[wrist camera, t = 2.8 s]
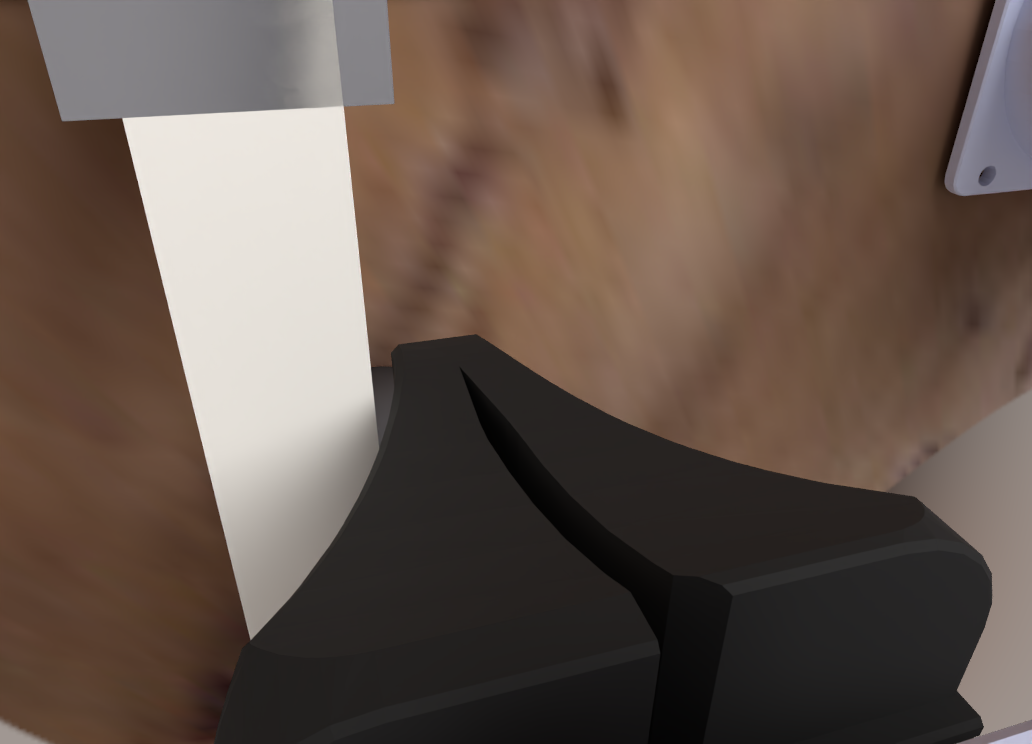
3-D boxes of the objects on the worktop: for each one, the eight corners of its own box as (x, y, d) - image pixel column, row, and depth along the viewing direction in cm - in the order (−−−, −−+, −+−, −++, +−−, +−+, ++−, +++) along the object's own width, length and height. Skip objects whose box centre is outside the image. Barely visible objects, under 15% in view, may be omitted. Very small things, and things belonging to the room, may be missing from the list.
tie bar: (301, -261, 12) (352, -463, 6) (386, 543, 20) (445, 819, 14) (87, -275, 11) (-122, -522, 5) (267, 566, 19) (274, 868, 13)
